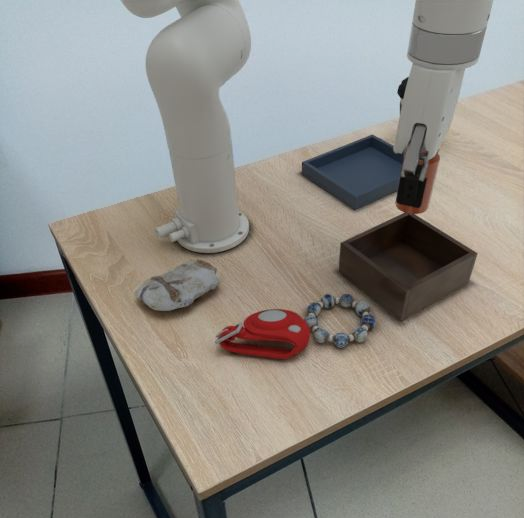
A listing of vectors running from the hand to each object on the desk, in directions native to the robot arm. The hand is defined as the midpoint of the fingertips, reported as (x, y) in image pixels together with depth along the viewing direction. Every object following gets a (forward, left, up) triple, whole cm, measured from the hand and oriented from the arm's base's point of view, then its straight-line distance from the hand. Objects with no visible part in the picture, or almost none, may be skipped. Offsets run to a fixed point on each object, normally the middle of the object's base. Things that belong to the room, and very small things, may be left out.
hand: (414, 193), depth 70 cm
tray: (+15, +26, -14) cm, 33 cm away
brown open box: (0, 0, -14) cm, 14 cm away
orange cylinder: (0, 0, -2) cm, 2 cm away
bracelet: (-14, -2, -14) cm, 20 cm away
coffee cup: (+31, +28, -14) cm, 44 cm away
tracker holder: (-24, +2, -14) cm, 28 cm away
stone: (-29, +17, -14) cm, 36 cm away
